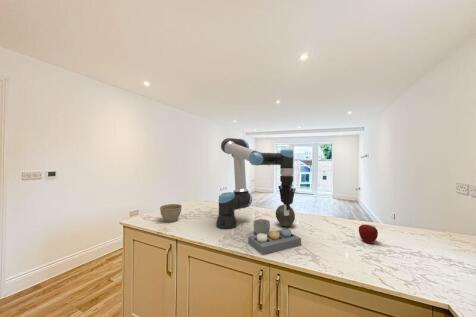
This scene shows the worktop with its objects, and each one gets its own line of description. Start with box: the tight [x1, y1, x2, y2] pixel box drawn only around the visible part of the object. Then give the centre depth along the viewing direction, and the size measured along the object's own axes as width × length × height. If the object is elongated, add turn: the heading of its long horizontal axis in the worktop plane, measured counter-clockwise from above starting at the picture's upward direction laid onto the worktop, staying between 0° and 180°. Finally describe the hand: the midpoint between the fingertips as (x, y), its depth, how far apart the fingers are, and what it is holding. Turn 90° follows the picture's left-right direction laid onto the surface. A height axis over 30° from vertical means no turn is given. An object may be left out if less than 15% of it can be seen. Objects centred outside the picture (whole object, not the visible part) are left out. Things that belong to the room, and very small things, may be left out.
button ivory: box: [256, 233, 267, 244], centre depth 108 cm, size 6×6×4 cm
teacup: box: [252, 218, 271, 235], centre depth 129 cm, size 14×11×8 cm
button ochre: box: [269, 230, 279, 241], centre depth 112 cm, size 6×6×4 cm
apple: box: [358, 224, 379, 244], centre depth 116 cm, size 10×10×10 cm
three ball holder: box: [247, 229, 302, 256], centre depth 112 cm, size 15×26×4 cm, turn 116°
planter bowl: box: [159, 203, 183, 223], centre depth 152 cm, size 16×16×11 cm
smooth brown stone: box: [275, 204, 296, 227], centre depth 143 cm, size 14×14×15 cm
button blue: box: [280, 228, 292, 238], centre depth 115 cm, size 6×6×4 cm
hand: (286, 215), depth 115 cm, fingers closed
